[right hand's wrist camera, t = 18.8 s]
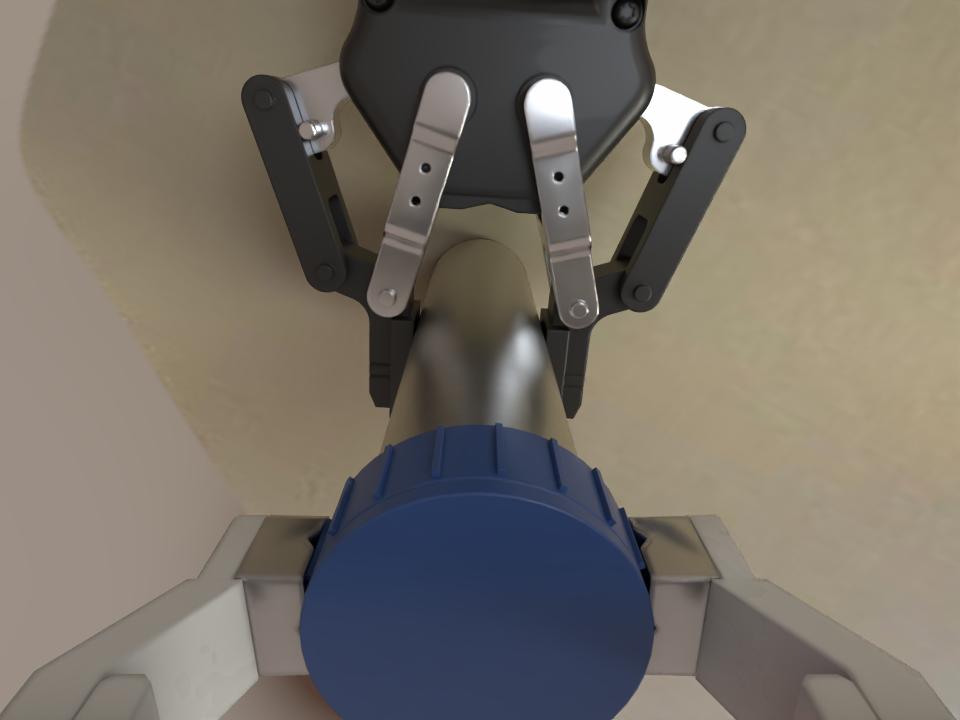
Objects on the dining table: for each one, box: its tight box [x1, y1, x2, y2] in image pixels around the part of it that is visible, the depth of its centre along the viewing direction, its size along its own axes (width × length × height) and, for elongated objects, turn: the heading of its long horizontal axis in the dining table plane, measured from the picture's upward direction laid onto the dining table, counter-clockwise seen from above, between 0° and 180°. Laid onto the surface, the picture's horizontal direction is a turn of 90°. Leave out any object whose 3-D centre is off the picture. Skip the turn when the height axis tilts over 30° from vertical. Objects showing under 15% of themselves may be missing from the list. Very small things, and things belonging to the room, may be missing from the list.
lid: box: [299, 423, 654, 720], centre depth 10 cm, size 5×5×2 cm
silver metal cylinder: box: [379, 239, 577, 456], centre depth 18 cm, size 4×4×18 cm
